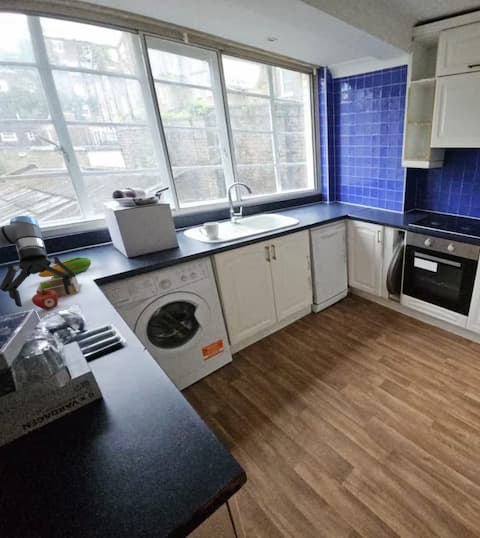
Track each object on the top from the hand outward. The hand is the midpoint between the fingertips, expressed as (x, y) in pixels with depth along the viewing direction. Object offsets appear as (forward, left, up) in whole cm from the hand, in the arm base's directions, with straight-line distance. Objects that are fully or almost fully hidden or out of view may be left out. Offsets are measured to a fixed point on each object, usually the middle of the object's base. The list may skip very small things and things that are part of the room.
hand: (44, 299), depth 110 cm
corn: (+3, +42, -5) cm, 43 cm away
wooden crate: (+2, +17, -5) cm, 18 cm away
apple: (0, +2, -5) cm, 5 cm away
